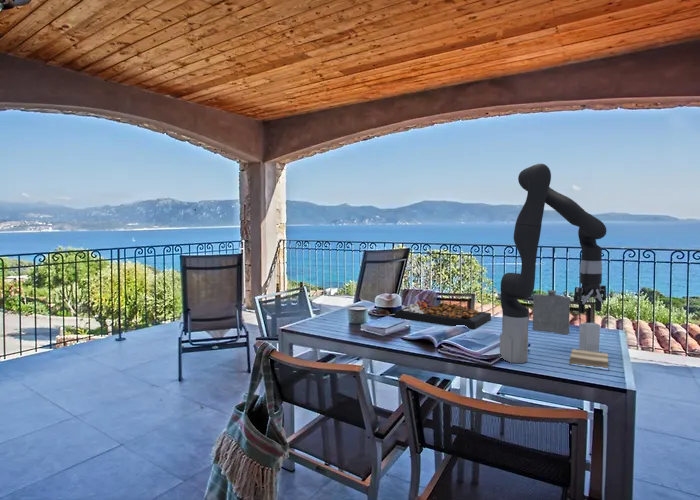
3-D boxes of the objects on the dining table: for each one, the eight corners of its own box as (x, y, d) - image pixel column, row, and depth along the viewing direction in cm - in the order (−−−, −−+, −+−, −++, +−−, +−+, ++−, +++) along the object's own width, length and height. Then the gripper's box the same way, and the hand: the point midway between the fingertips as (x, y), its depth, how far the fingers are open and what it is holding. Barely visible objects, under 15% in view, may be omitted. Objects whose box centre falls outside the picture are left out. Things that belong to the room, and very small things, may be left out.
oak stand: (607, 370, 151) (608, 362, 151) (569, 365, 157) (570, 357, 157) (607, 361, 161) (607, 353, 161) (571, 356, 168) (572, 348, 167)
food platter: (394, 318, 236) (394, 300, 236) (415, 311, 256) (415, 294, 255) (474, 330, 210) (474, 310, 209) (490, 321, 230) (491, 302, 229)
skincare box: (592, 351, 174) (593, 322, 173) (599, 355, 169) (600, 324, 168) (577, 352, 173) (578, 322, 172) (585, 355, 169) (586, 325, 168)
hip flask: (531, 330, 208) (532, 289, 207) (533, 328, 212) (534, 288, 210) (568, 335, 199) (569, 292, 198) (569, 333, 202) (570, 291, 201)
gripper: (596, 269, 175) (594, 309, 176) (569, 271, 170) (568, 311, 171) (612, 271, 168) (611, 312, 169) (585, 273, 163) (584, 315, 164)
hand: (589, 312), depth 170 cm, fingers open, 8 cm apart
